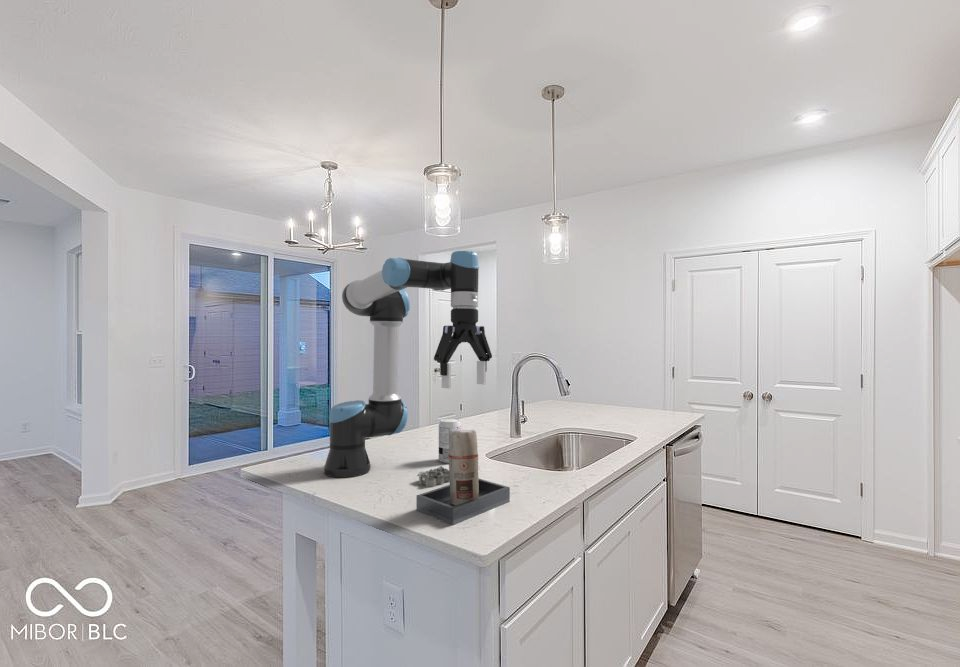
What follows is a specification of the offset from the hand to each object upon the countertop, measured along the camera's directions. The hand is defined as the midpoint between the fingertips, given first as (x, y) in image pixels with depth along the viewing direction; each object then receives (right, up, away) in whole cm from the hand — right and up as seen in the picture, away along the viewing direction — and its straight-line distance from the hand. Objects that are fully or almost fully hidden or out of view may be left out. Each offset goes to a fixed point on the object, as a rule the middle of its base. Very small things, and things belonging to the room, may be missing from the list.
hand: (464, 386), depth 127 cm
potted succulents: (-10, -33, +21) cm, 41 cm away
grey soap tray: (0, -33, 0) cm, 33 cm away
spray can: (0, -32, 0) cm, 32 cm away
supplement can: (-7, -33, +46) cm, 57 cm away
